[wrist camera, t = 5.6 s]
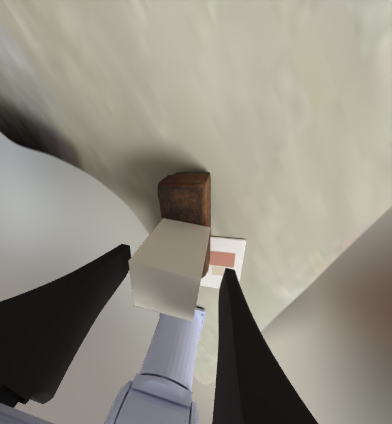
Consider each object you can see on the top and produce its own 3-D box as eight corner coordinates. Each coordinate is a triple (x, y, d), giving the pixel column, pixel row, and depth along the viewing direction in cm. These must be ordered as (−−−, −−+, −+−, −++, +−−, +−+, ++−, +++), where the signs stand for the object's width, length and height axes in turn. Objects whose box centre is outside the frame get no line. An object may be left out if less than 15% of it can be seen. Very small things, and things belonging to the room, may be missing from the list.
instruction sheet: (237, 289, 22) (238, 291, 22) (196, 283, 23) (196, 285, 23) (246, 239, 18) (246, 240, 17) (195, 234, 19) (195, 235, 19)
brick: (173, 171, 16) (153, 183, 11) (211, 171, 15) (205, 184, 11) (181, 252, 20) (169, 281, 16) (211, 255, 19) (206, 287, 15)
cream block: (204, 263, 14) (192, 321, 10) (162, 254, 14) (133, 305, 10) (210, 227, 12) (200, 277, 8) (163, 218, 13) (128, 260, 8)
